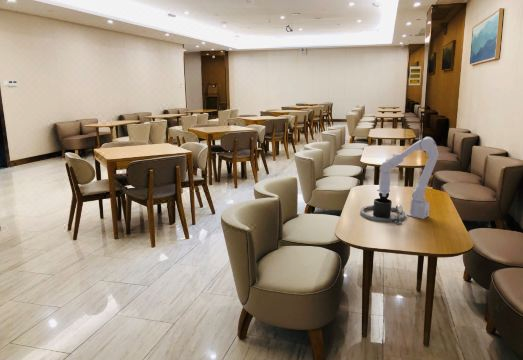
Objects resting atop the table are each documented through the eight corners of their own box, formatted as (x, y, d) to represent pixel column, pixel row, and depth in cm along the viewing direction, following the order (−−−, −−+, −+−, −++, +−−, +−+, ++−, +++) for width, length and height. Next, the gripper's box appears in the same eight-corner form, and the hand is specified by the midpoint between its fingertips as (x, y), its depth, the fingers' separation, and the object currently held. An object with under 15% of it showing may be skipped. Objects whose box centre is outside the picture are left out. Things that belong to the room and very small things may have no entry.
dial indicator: (402, 224, 215) (404, 206, 213) (397, 225, 214) (399, 206, 212) (397, 221, 220) (398, 203, 217) (392, 222, 219) (393, 203, 216)
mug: (392, 213, 233) (393, 198, 231) (389, 219, 222) (390, 203, 220) (375, 211, 237) (376, 196, 235) (371, 217, 226) (372, 201, 224)
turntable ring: (412, 214, 230) (413, 211, 230) (392, 225, 213) (393, 221, 213) (373, 205, 247) (373, 202, 246) (352, 214, 230) (352, 211, 229)
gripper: (377, 179, 241) (376, 201, 244) (377, 185, 228) (375, 208, 231) (390, 180, 239) (388, 202, 242) (390, 186, 226) (388, 209, 229)
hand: (383, 205), depth 236 cm, fingers closed
